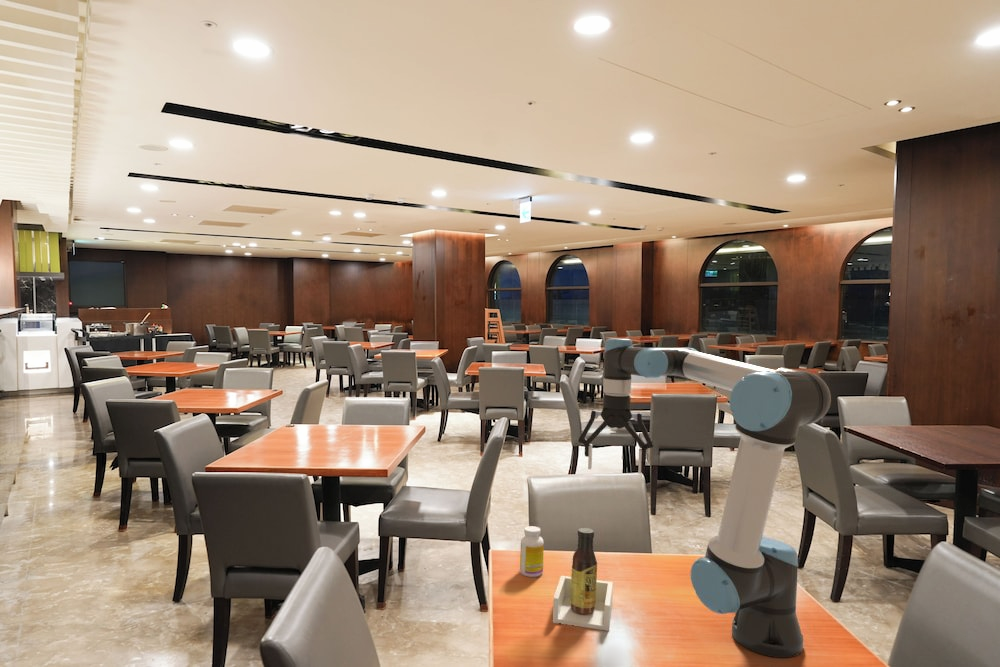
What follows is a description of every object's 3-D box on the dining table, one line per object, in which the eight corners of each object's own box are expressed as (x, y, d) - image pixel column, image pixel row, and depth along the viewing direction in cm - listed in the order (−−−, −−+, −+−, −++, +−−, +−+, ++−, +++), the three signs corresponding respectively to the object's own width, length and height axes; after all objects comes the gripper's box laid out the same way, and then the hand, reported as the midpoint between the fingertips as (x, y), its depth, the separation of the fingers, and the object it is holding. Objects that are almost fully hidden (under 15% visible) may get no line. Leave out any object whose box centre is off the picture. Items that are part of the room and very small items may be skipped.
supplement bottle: (547, 574, 171) (548, 530, 171) (529, 579, 168) (530, 534, 167) (533, 566, 177) (534, 523, 176) (515, 571, 173) (516, 527, 173)
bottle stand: (560, 598, 157) (561, 575, 157) (612, 605, 154) (612, 582, 154) (552, 622, 144) (553, 598, 144) (609, 630, 141) (609, 605, 141)
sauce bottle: (587, 618, 145) (590, 537, 144) (565, 610, 148) (567, 531, 148) (600, 608, 150) (602, 530, 149) (578, 600, 154) (580, 524, 153)
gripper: (663, 395, 166) (660, 470, 167) (573, 390, 172) (571, 463, 173) (663, 398, 159) (661, 477, 159) (570, 393, 165) (568, 469, 165)
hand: (614, 470), depth 166 cm, fingers open, 13 cm apart
